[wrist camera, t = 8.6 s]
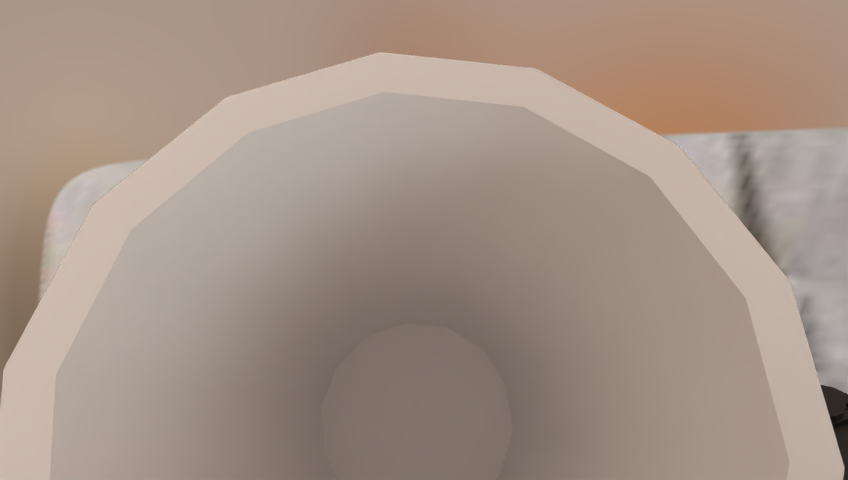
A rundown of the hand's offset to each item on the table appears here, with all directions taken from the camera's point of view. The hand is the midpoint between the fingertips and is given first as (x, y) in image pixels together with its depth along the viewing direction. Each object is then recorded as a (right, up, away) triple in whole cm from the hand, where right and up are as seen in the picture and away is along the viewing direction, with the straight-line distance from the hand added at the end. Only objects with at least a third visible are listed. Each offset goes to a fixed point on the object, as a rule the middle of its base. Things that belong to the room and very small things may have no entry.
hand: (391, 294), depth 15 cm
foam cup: (+1, -4, +4) cm, 6 cm away
